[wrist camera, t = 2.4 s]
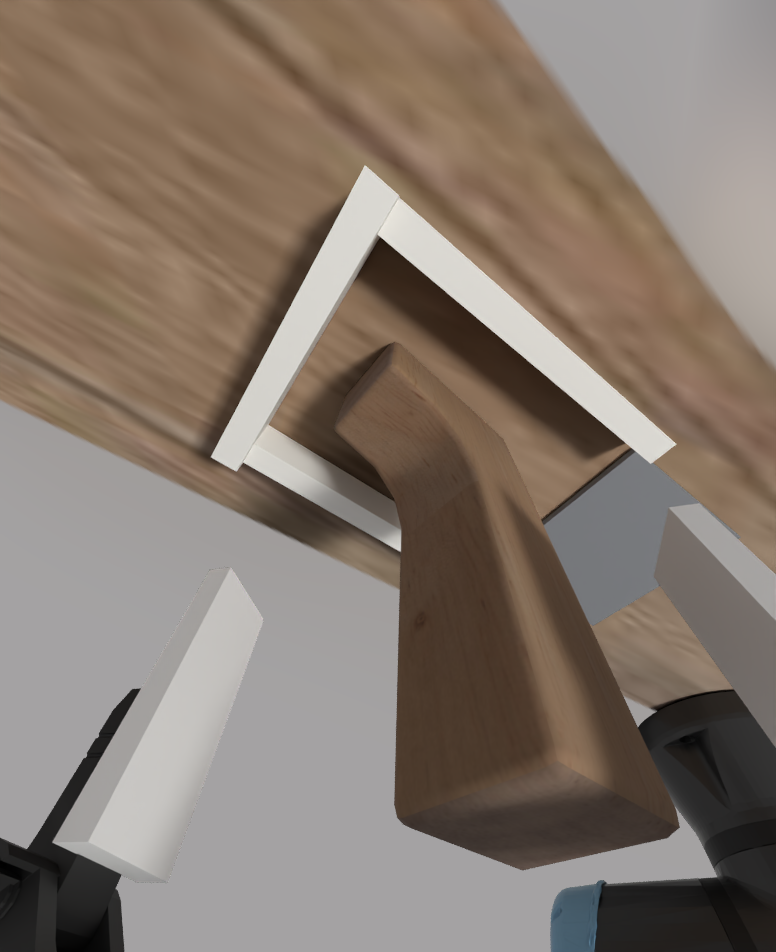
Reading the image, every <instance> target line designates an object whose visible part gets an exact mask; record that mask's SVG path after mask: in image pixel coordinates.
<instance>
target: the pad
mask: <svg viewBox="0 0 776 952" xmlns="http://www.w3.org/2000/svg"><path fill="white" fill-rule="evenodd" d="M698 503H700V502H699V501H697V500H696V499H695V498H694V497H693V496H692V495H690V494H689V493H688V492H687V491H686V490H684V489H683V488H682V487H681V486H680V485H679V484H677V483H676V482H675V481H674V480H673V479H671V478H670V477H669V476H668V475H667V474H665V473H664V472H663V471H662V470H661V469H660V468H658V467H657V466H656V465H655V464H654V463H651V464H650V463H649V462H648V461H647V460H645V459H644V458H643V457H642V456H641V455H640V454H638V453H637V452H636V451H635V450H634V449H631V450H630V451H629V452H627V453H626V454H625V455H624V456H622V457H621V458H620V459H619V460H617V461H616V462H615V463H614V464H613V465H611V466H610V467H609V468H608V469H606V470H605V471H604V472H603V473H601V474H600V475H599V476H598V477H596V478H595V479H594V480H593V481H592V482H590V483H589V484H588V485H587V486H585V487H584V488H583V489H582V490H580V491H579V492H578V493H577V494H575V495H574V496H573V497H572V498H571V499H569V500H568V501H567V502H566V503H564V504H563V505H562V506H561V507H559V508H558V509H557V510H556V511H554V512H553V513H552V514H551V515H549V516H548V517H547V518H546V519H545V520H543V521H542V523H543V525H544V528H545V530H546V532H547V534H548V536H549V538H550V541H551V543H552V545H553V547H554V549H555V551H556V553H557V556H558V558H559V560H560V562H561V564H562V566H563V568H564V571H565V573H566V575H567V577H568V579H569V581H570V583H571V586H572V588H573V590H574V592H575V594H576V596H577V598H578V601H579V603H580V605H581V607H582V609H583V611H584V613H585V616H586V618H587V620H588V622H589V624H591V625H595V624H597V623H598V622H600V621H602V620H603V619H605V618H607V617H608V616H610V615H612V614H613V613H615V612H617V611H619V610H620V609H622V608H624V607H625V606H627V605H629V604H630V603H632V602H634V601H635V600H637V599H639V598H640V597H642V596H644V595H645V594H647V593H649V592H650V591H652V590H654V589H655V588H657V587H659V586H660V585H659V583H658V582H657V581H656V579H655V578H654V572H655V568H656V563H657V559H658V554H659V549H660V545H661V540H662V536H663V531H664V527H665V522H666V517H667V513H668V508H669V507H676V506H683V505H691V504H698ZM700 504H701V503H700ZM701 505H702V504H701ZM702 506H703V505H702ZM703 507H704V508H705V509H706V510H707V511H708V512H709V513H710V514H711V515H712V516H713V517H715V518H716V519H717V520H718V521H719V522H720V523H721V524H722V525H723V526H724V527H725V528H726V529H727V530H729V531H730V532H731V533H732V534H733V535H734V536H735V537H736V538H737V539H739V538H740V536H739V535H738V534H737V533H735V532H734V531H733V530H732V529H731V528H730V527H728V526H727V525H726V524H725V523H724V522H722V521H721V520H720V519H719V518H718V517H716V516H715V515H714V514H713V513H712V512H711V511H709V510H708V509H707V508H706V507H705V506H703Z"/></svg>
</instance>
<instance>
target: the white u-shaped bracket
mask: <svg viewBox="0 0 776 952" xmlns="http://www.w3.org/2000/svg"><path fill="white" fill-rule="evenodd" d="M380 237H381V238H382V239H383V240H385V241H386V242H387V243H388V244H389V245H391V246H392V247H393V248H394V249H395V250H396V251H398V252H399V253H400V254H401V255H402V256H404V257H405V258H406V259H407V260H408V261H410V262H411V263H412V264H413V265H414V266H416V267H417V268H418V269H419V270H420V271H421V272H423V273H424V274H425V275H426V276H427V277H429V278H430V279H431V280H432V281H433V282H435V283H436V284H437V285H438V286H439V287H441V288H442V289H443V290H444V291H445V292H447V293H448V294H449V295H450V296H451V297H452V298H454V299H455V300H456V301H457V302H458V303H460V304H461V305H462V306H463V307H464V308H466V309H467V310H468V311H469V312H470V313H472V314H473V315H474V316H475V317H476V318H477V319H479V320H480V321H481V322H482V323H483V324H485V325H486V326H487V327H488V328H489V329H491V330H492V331H493V332H494V333H495V334H497V335H498V336H499V337H500V338H501V339H503V340H504V341H505V342H506V343H507V344H508V345H510V346H511V347H512V348H513V349H514V350H516V351H517V352H518V353H519V354H520V355H522V356H523V357H524V358H525V359H526V360H528V361H529V362H530V363H531V364H532V365H533V366H535V367H536V368H537V369H538V370H539V371H541V372H542V373H543V374H544V375H545V376H547V377H548V378H549V379H550V380H551V381H553V382H554V383H555V384H556V385H557V386H558V387H560V388H561V389H562V390H563V391H564V392H566V393H567V394H568V395H569V396H570V397H572V398H573V399H574V400H575V401H576V402H578V403H579V404H580V405H581V406H582V407H584V408H585V409H586V410H587V411H588V412H589V413H591V414H592V415H593V416H594V417H595V418H597V419H598V420H599V421H600V422H601V423H603V424H604V425H605V426H606V427H607V428H609V429H610V430H611V431H612V432H613V433H614V434H616V435H617V436H618V437H619V438H620V439H622V440H623V441H624V442H625V443H626V444H628V445H629V446H630V447H631V448H632V449H634V450H635V451H636V452H637V453H638V454H640V455H641V456H642V457H643V458H644V459H645V460H647V461H648V462H649V463H650V464H651V463H653V462H654V461H655V460H656V459H658V458H659V457H660V456H662V455H663V454H664V453H666V452H667V451H668V450H669V449H671V448H672V447H673V446H675V445H676V443H675V442H673V441H672V440H671V439H670V438H669V437H668V436H667V435H666V434H664V433H663V432H662V431H661V430H660V429H659V428H658V427H657V426H655V425H654V424H653V423H652V422H651V421H650V420H649V419H648V418H646V417H645V416H644V415H643V414H642V413H641V412H640V411H639V410H637V409H636V408H635V407H634V406H633V405H632V404H631V403H630V402H628V401H627V400H626V399H625V398H624V397H623V396H622V395H621V394H620V393H618V392H617V391H616V390H615V389H614V388H613V387H612V386H611V385H609V384H608V383H607V382H606V381H605V380H604V379H603V378H602V377H600V376H599V375H598V374H597V373H596V372H595V371H594V370H593V369H591V368H590V367H589V366H588V365H587V364H586V363H585V362H584V361H582V360H581V359H580V358H579V357H578V356H577V355H576V354H575V353H573V352H572V351H571V350H570V349H569V348H568V347H567V346H566V345H564V344H563V343H562V342H561V341H560V340H559V339H558V338H557V337H555V336H554V335H553V334H552V333H551V332H550V331H549V330H548V329H546V328H545V327H544V326H543V325H542V324H541V323H540V322H539V321H537V320H536V319H535V318H534V317H533V316H532V315H531V314H530V313H528V312H527V311H526V310H525V309H524V308H523V307H522V306H521V305H519V304H518V303H517V302H516V301H515V300H514V299H513V298H512V297H510V296H509V295H508V294H507V293H506V292H505V291H504V290H503V289H501V288H500V287H499V286H498V285H497V284H496V283H495V282H494V281H492V280H491V279H490V278H489V277H488V276H487V275H486V274H485V273H483V272H482V271H481V270H480V269H479V268H478V267H477V266H476V265H474V264H473V263H472V262H471V261H470V260H469V259H468V258H467V257H465V256H464V255H463V254H462V253H461V252H460V251H459V250H458V249H457V248H455V247H454V246H453V245H452V244H451V243H450V242H449V241H448V240H446V239H445V238H444V237H443V236H442V235H441V234H440V233H439V232H437V231H436V230H435V229H434V228H433V227H432V226H431V225H430V224H428V223H427V222H426V221H425V220H424V219H423V218H422V217H421V216H419V215H418V214H417V213H416V212H415V211H414V210H413V209H412V208H410V207H409V206H408V205H407V204H406V203H405V202H404V201H403V200H401V199H400V198H399V195H398V194H397V193H396V192H395V191H393V190H392V189H391V188H390V187H389V186H388V185H387V184H386V183H384V182H383V181H382V180H381V179H380V178H379V177H378V176H377V175H375V174H374V173H373V172H372V171H371V170H370V169H369V168H368V167H366V166H364V168H363V170H362V172H361V174H360V176H359V178H358V180H357V181H356V183H355V185H354V187H353V189H352V191H351V193H350V195H349V197H348V198H347V200H346V202H345V204H344V206H343V208H342V210H341V212H340V214H339V215H338V217H337V219H336V221H335V223H334V225H333V227H332V229H331V231H330V233H329V234H328V236H327V238H326V240H325V242H324V244H323V246H322V248H321V250H320V251H319V253H318V255H317V257H316V259H315V261H314V263H313V265H312V267H311V268H310V270H309V272H308V274H307V276H306V278H305V280H304V282H303V284H302V285H301V287H300V289H299V291H298V293H297V295H296V297H295V299H294V301H293V302H292V304H291V306H290V308H289V310H288V312H287V314H286V316H285V318H284V320H283V321H282V323H281V325H280V327H279V329H278V331H277V333H276V335H275V337H274V338H273V340H272V342H271V344H270V346H269V348H268V350H267V352H266V354H265V355H264V357H263V359H262V361H261V363H260V365H259V367H258V369H257V371H256V372H255V374H254V376H253V378H252V380H251V382H250V384H249V386H248V388H247V390H246V391H245V393H244V395H243V397H242V399H241V401H240V403H239V405H238V407H237V408H236V410H235V412H234V414H233V416H232V418H231V420H230V422H229V424H228V425H227V427H226V429H225V431H224V433H223V435H222V437H221V439H220V441H219V442H218V444H217V446H216V448H215V450H214V452H213V454H212V456H211V458H213V459H215V460H217V461H218V462H220V463H222V464H224V465H226V466H227V467H229V468H231V469H233V470H235V471H236V472H237V470H238V469H239V467H240V466H241V465H242V463H245V464H247V465H249V466H250V467H252V468H254V469H256V470H257V471H259V472H261V473H263V474H264V475H266V476H268V477H270V478H271V479H273V480H275V481H277V482H278V483H280V484H282V485H284V486H285V487H287V488H289V489H291V490H293V491H294V492H296V493H298V494H300V495H301V496H303V497H305V498H307V499H308V500H310V501H312V502H314V503H315V504H317V505H319V506H321V507H322V508H324V509H326V510H328V511H329V512H331V513H333V514H335V515H336V516H338V517H340V518H342V519H343V520H345V521H347V522H349V523H351V524H352V525H354V526H356V527H358V528H359V529H361V530H363V531H365V532H366V533H368V534H370V535H372V536H373V537H375V538H377V539H379V540H380V541H382V542H384V543H386V544H387V545H389V546H391V547H393V548H394V549H396V550H398V551H400V552H401V526H400V521H399V517H398V513H397V508H396V504H395V502H394V501H392V500H391V499H389V498H387V497H386V496H384V495H382V494H381V493H379V492H378V491H376V490H374V489H373V488H371V487H369V486H368V485H366V484H364V483H363V482H361V481H360V480H358V479H356V478H355V477H353V476H351V475H350V474H348V473H346V472H345V471H343V470H341V469H340V468H338V467H337V466H335V465H333V464H332V463H330V462H328V461H327V460H325V459H323V458H322V457H320V456H319V455H317V454H315V453H314V452H312V451H310V450H309V449H307V448H305V447H304V446H302V445H301V444H299V443H297V442H296V441H294V440H292V439H291V438H289V437H287V436H286V435H284V434H283V433H281V432H279V431H278V430H276V429H274V428H273V427H271V426H269V423H270V421H271V420H272V418H273V416H274V414H275V413H276V411H277V409H278V408H279V406H280V404H281V403H282V401H283V399H284V398H285V396H286V394H287V393H288V391H289V389H290V388H291V386H292V384H293V383H294V381H295V379H296V377H297V376H298V374H299V372H300V371H301V369H302V367H303V366H304V364H305V362H306V361H307V359H308V357H309V356H310V354H311V352H312V351H313V349H314V347H315V346H316V344H317V342H318V340H319V339H320V337H321V335H322V334H323V332H324V330H325V329H326V327H327V325H328V324H329V322H330V320H331V319H332V317H333V315H334V314H335V312H336V310H337V309H338V307H339V305H340V303H341V302H342V300H343V298H344V297H345V295H346V293H347V292H348V290H349V288H350V287H351V285H352V283H353V282H354V280H355V278H356V277H357V275H358V273H359V272H360V270H361V268H362V266H363V265H364V263H365V261H366V260H367V258H368V256H369V255H370V253H371V251H372V250H373V248H374V246H375V245H376V243H377V241H378V240H379V238H380Z"/></svg>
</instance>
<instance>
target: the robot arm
mask: <svg viewBox="0 0 776 952" xmlns="http://www.w3.org/2000/svg"><path fill="white" fill-rule="evenodd" d="M654 578H655V579H656V581H657V582H658V583H659V585H660V586H661V588H662V589H663V590H664V592H665V593H666V595H667V596H668V597H669V599H670V600H671V602H672V603H673V604H674V606H675V607H676V609H677V610H678V611H679V613H680V614H681V616H682V617H683V618H684V620H685V621H686V623H687V624H688V625H689V627H690V628H691V630H692V631H693V632H694V634H695V635H696V637H697V638H698V639H699V641H700V642H701V644H702V645H703V646H704V648H705V649H706V651H707V652H708V653H709V655H710V656H711V658H712V659H713V660H714V662H715V663H716V665H717V666H718V667H719V669H720V670H721V672H722V673H723V674H724V676H725V677H726V679H727V680H728V681H729V683H730V684H731V686H732V687H733V688H734V690H735V691H731V692H720V693H713V694H707V695H702V696H698V697H694V698H690V699H686V700H683V701H680V702H677V703H675V704H672V705H670V706H667V707H665V708H663V709H661V710H659V711H657V712H656V713H654V714H652V715H651V716H650V717H648V718H647V719H646V720H644V721H643V722H642V723H641V724H640V726H639V727H638V729H639V731H640V733H641V736H642V738H643V740H644V742H645V744H646V746H647V748H648V751H649V753H650V755H651V757H652V759H653V761H654V763H655V766H656V768H657V770H658V772H659V774H660V776H661V778H662V781H663V783H664V785H665V787H666V789H667V791H668V793H669V796H670V798H671V800H672V802H673V804H674V806H675V807H676V808H677V809H678V811H679V812H680V813H681V814H682V816H683V817H684V819H685V820H686V821H687V822H688V824H689V825H690V826H691V828H692V829H693V830H694V832H695V833H696V834H697V836H698V838H699V840H700V841H701V843H702V845H703V847H704V849H705V851H706V853H707V856H708V858H709V859H710V861H711V864H712V866H713V868H714V870H715V872H716V875H717V877H716V878H701V879H697V878H695V879H681V880H680V879H679V880H664V881H649V882H633V883H618V884H607V883H606V882H605V881H604V880H600V881H598V882H597V883H596V884H594V885H586V886H579V887H571V888H566V889H564V890H562V891H561V892H560V893H559V894H558V895H557V897H556V899H555V901H554V904H553V909H552V913H551V932H550V936H551V952H776V574H775V573H774V572H772V571H771V570H770V569H769V568H768V567H767V566H766V565H765V564H764V563H763V562H762V561H761V560H760V559H759V558H757V557H756V556H755V555H754V554H753V553H752V552H751V551H750V550H749V549H748V548H747V547H746V546H745V545H744V544H742V543H741V542H740V541H739V540H738V539H737V538H736V537H735V536H734V535H733V534H732V533H731V532H730V531H729V530H727V529H726V528H725V527H724V526H723V525H722V524H721V523H720V522H719V521H718V520H717V519H716V518H715V517H713V516H712V515H711V514H710V513H709V512H708V511H707V510H706V509H705V508H704V507H703V506H702V505H701V504H700V503H698V504H691V505H683V506H676V507H669V508H668V513H667V517H666V522H665V527H664V531H663V536H662V540H661V545H660V549H659V554H658V559H657V563H656V568H655V572H654ZM262 623H263V618H262V616H261V615H260V613H259V612H258V610H257V608H256V607H255V605H254V604H253V602H252V600H251V598H250V597H249V595H248V594H247V592H246V590H245V589H244V587H243V586H242V584H241V582H240V581H239V579H238V577H237V576H236V574H235V573H234V571H233V569H232V568H231V567H227V568H219V569H212V570H209V572H208V574H207V576H206V578H205V579H204V581H203V583H202V584H201V586H200V588H199V589H198V591H197V593H196V594H195V596H194V598H193V600H192V602H191V603H190V605H189V607H188V608H187V610H186V612H185V614H184V615H183V617H182V619H181V621H180V622H179V624H178V626H177V627H176V629H175V631H174V632H173V634H172V636H171V638H170V640H169V641H168V643H167V645H166V646H165V648H164V650H163V652H162V653H161V655H160V657H159V659H158V660H157V662H156V664H155V665H154V667H153V669H152V671H151V672H150V674H149V676H148V678H147V679H146V681H145V683H144V685H143V686H142V688H141V689H132V690H131V691H130V692H129V693H128V694H127V696H126V697H125V698H124V699H123V700H122V701H121V702H120V703H119V704H118V705H117V706H116V708H115V709H114V710H113V711H112V713H111V715H110V716H109V718H108V720H107V721H106V723H105V725H104V726H103V728H102V729H101V731H100V733H99V737H98V738H96V739H95V741H94V742H93V744H92V746H91V747H90V749H89V751H88V752H87V757H86V758H84V759H83V760H82V762H81V764H80V765H79V767H78V769H77V770H76V772H75V773H74V775H73V777H72V779H71V780H70V782H69V783H68V785H67V787H66V788H65V790H64V792H63V793H62V795H61V796H60V798H59V800H58V801H57V803H56V805H55V806H54V808H53V810H52V811H51V813H50V814H49V816H48V818H47V819H46V821H45V823H44V824H43V826H42V828H41V829H40V831H39V832H38V834H37V835H36V837H35V839H34V840H33V842H32V843H31V845H30V846H29V847H28V849H25V848H22V847H20V846H18V845H15V844H13V843H11V842H9V841H6V840H4V839H1V838H0V952H124V941H123V926H122V913H121V900H120V897H119V894H118V891H117V890H116V889H115V888H116V886H117V884H118V882H119V879H120V877H121V875H122V876H124V877H126V878H128V879H130V880H133V881H135V882H138V883H139V882H140V883H144V882H145V883H146V882H147V883H148V882H149V883H154V882H156V883H159V882H160V883H166V882H168V881H169V878H170V875H171V872H172V870H173V866H174V864H175V861H176V859H177V856H178V853H179V850H180V847H181V845H182V842H183V840H184V837H185V834H186V831H187V829H188V826H189V823H190V820H191V818H192V815H193V812H194V809H195V807H196V804H197V801H198V798H199V795H200V793H201V790H202V788H203V785H204V782H205V779H206V777H207V774H208V771H209V768H210V766H211V763H212V760H213V757H214V754H215V752H216V749H217V746H218V744H219V741H220V738H221V735H222V733H223V730H224V727H225V725H226V722H227V719H228V716H229V714H230V710H231V708H232V705H233V703H234V700H235V697H236V694H237V692H238V689H239V686H240V684H241V681H242V678H243V675H244V673H245V670H246V667H247V664H248V662H249V659H250V656H251V653H252V650H253V648H254V645H255V642H256V640H257V637H258V634H259V631H260V629H261V626H262Z"/></svg>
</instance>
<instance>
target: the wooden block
mask: <svg viewBox="0 0 776 952" xmlns="http://www.w3.org/2000/svg"><path fill="white" fill-rule="evenodd" d="M334 429H335V431H336V433H337V434H338V435H339V436H340V437H341V438H342V439H344V440H345V441H346V442H347V443H348V444H349V445H350V446H351V447H353V448H354V449H355V450H356V451H357V452H358V453H359V454H360V455H361V456H363V457H364V458H365V459H366V460H367V461H368V462H369V463H370V464H372V465H373V466H374V467H375V469H376V470H377V472H378V474H379V475H380V477H381V478H382V480H383V482H384V483H385V485H386V486H387V488H388V489H389V491H390V493H391V494H392V496H393V497H394V500H395V504H396V508H397V513H398V517H399V521H400V526H401V563H400V603H399V643H398V682H397V722H396V725H397V726H396V762H395V765H396V766H395V801H394V805H395V809H396V814H397V818H398V819H399V820H400V821H401V822H402V823H403V824H404V825H406V826H408V827H410V828H412V829H415V830H418V831H420V832H423V833H425V834H428V835H431V836H433V837H436V838H438V839H441V840H444V841H446V842H449V843H452V844H454V845H457V846H460V847H462V848H465V849H468V850H470V851H473V852H476V853H478V854H481V855H484V856H486V857H489V858H491V859H494V860H497V861H500V862H502V863H504V864H507V865H510V866H512V867H515V868H518V869H520V870H526V869H530V868H535V867H539V866H544V865H548V864H553V863H557V862H562V861H566V860H571V859H575V858H580V857H584V856H589V855H593V854H598V853H601V852H607V851H611V850H616V849H620V848H624V847H629V846H633V845H638V844H642V843H647V842H651V841H656V840H661V839H665V838H668V837H669V836H670V835H671V834H672V833H673V832H675V831H676V830H677V829H678V828H680V827H679V822H678V817H677V813H676V809H675V806H674V804H673V802H672V800H671V798H670V796H669V793H668V791H667V789H666V787H665V785H664V783H663V781H662V778H661V776H660V774H659V772H658V770H657V768H656V766H655V763H654V761H653V759H652V757H651V755H650V753H649V751H648V748H647V746H646V744H645V742H644V740H643V738H642V736H641V733H640V731H639V729H638V727H637V725H636V723H635V721H634V719H633V716H632V714H631V713H630V710H629V708H628V706H627V703H626V701H625V699H624V697H623V695H622V693H621V691H620V688H619V686H618V684H617V682H616V680H615V678H614V676H613V673H612V671H611V669H610V667H609V665H608V663H607V661H606V658H605V656H604V654H603V652H602V650H601V648H600V646H599V643H598V641H597V639H596V637H595V635H594V633H593V631H592V628H591V626H590V624H589V622H588V620H587V618H586V616H585V613H584V611H583V609H582V607H581V605H580V603H579V601H578V598H577V596H576V594H575V592H574V590H573V588H572V586H571V583H570V581H569V579H568V577H567V575H566V573H565V571H564V568H563V566H562V564H561V562H560V560H559V558H558V556H557V553H556V551H555V549H554V547H553V545H552V543H551V541H550V538H549V536H548V534H547V532H546V530H545V528H544V525H543V523H542V521H541V519H540V517H539V515H538V512H537V510H536V508H535V506H534V504H533V501H532V499H531V497H530V495H529V493H528V491H527V488H526V486H525V484H524V482H523V480H522V478H521V475H520V473H519V471H518V469H517V467H516V465H515V463H514V461H513V459H512V457H511V455H510V452H509V450H508V448H507V446H506V444H505V442H504V440H503V438H502V437H500V436H499V435H498V434H497V433H496V432H495V431H494V430H493V429H492V428H491V427H490V426H489V425H487V424H486V423H485V422H484V421H483V420H482V419H481V418H480V417H479V416H478V415H477V414H476V413H474V412H473V411H472V410H471V409H470V408H469V407H468V406H467V405H466V404H465V403H464V402H463V401H461V400H460V399H459V398H458V397H457V396H456V395H455V394H454V393H453V392H452V391H451V390H449V389H448V388H447V387H446V386H445V385H444V384H443V383H442V382H441V381H440V380H439V379H438V378H436V377H435V376H434V375H433V374H432V373H431V372H430V371H429V370H428V369H427V368H426V367H425V366H423V365H422V364H421V363H420V362H419V361H418V360H417V359H416V358H415V357H414V356H413V355H411V354H410V353H409V352H408V351H407V350H406V349H405V348H404V347H403V346H402V345H401V344H399V343H396V342H394V343H392V344H390V345H389V346H388V347H387V348H386V349H385V350H384V351H383V353H382V354H381V355H380V356H379V357H378V358H377V360H376V361H375V362H374V363H373V364H372V366H371V367H370V368H369V369H368V370H367V371H366V373H365V374H364V375H363V376H362V377H361V378H360V380H359V381H358V382H357V383H356V384H355V385H354V387H353V388H352V389H351V390H350V391H349V392H348V394H347V395H346V397H345V400H344V402H343V405H342V407H341V409H340V412H339V414H338V417H337V419H336V422H335V426H334Z"/></svg>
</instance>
